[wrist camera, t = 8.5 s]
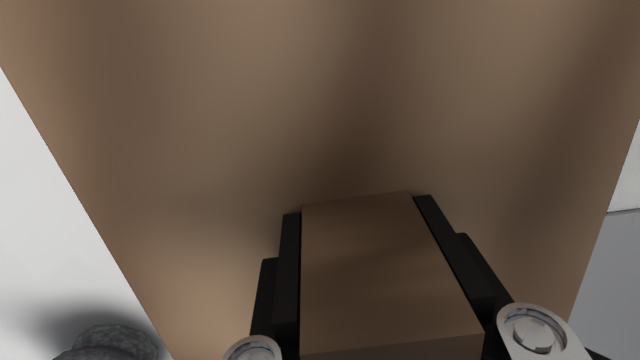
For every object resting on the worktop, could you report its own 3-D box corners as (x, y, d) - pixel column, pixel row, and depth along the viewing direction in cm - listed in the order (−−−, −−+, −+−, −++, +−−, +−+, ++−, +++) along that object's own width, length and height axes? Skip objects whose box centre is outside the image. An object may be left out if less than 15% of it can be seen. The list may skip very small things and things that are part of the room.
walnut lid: (668, -111, 7) (1520, -375, 2) (538, 332, 15) (661, 507, 10) (5, -2, 8) (-569, -11, 3) (204, 373, 16) (153, 559, 10)
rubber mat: (726, 197, 21) (732, 199, 21) (635, 360, 30) (638, 363, 30) (451, 233, 22) (453, 236, 22) (440, 383, 31) (441, 386, 30)
